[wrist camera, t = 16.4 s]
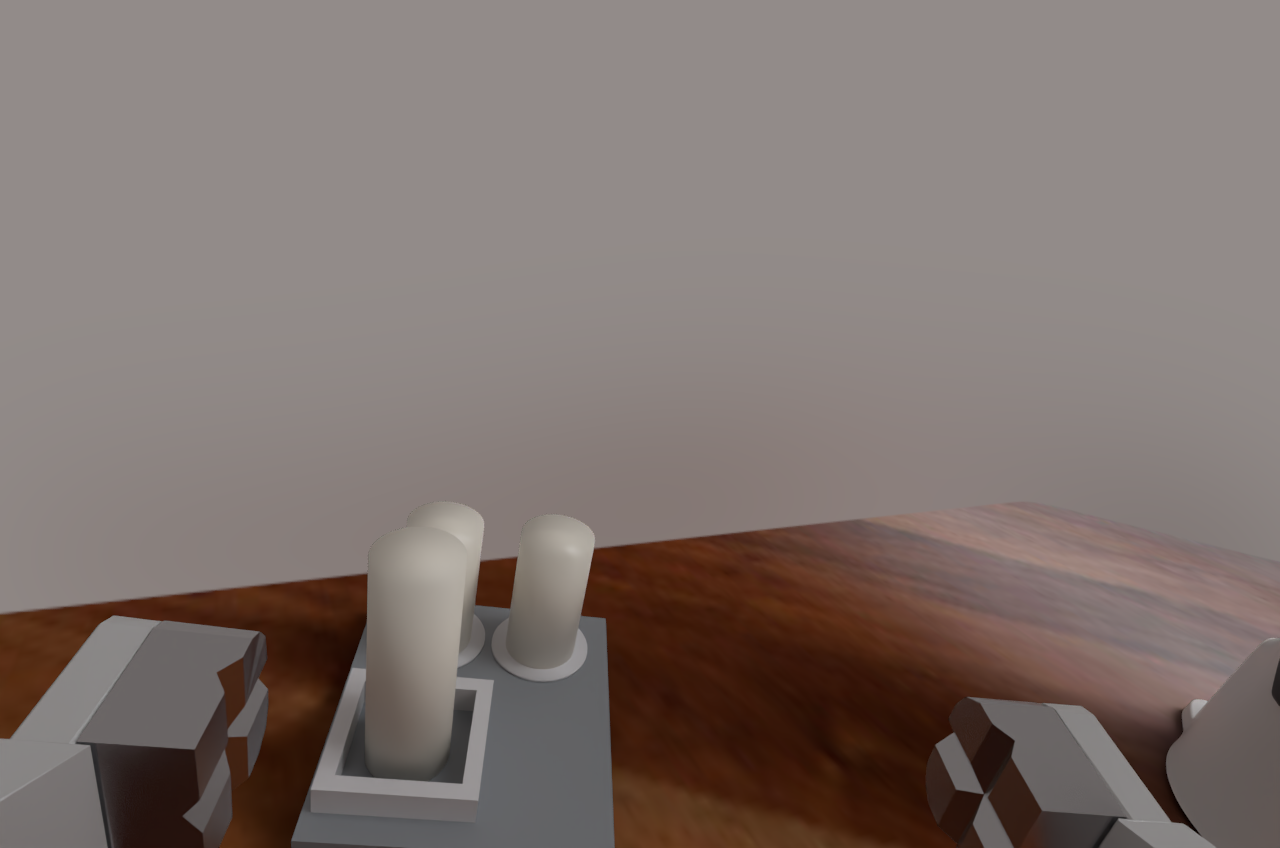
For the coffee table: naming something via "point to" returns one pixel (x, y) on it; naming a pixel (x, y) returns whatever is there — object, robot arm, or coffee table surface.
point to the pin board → (491, 717)
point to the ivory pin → (412, 651)
